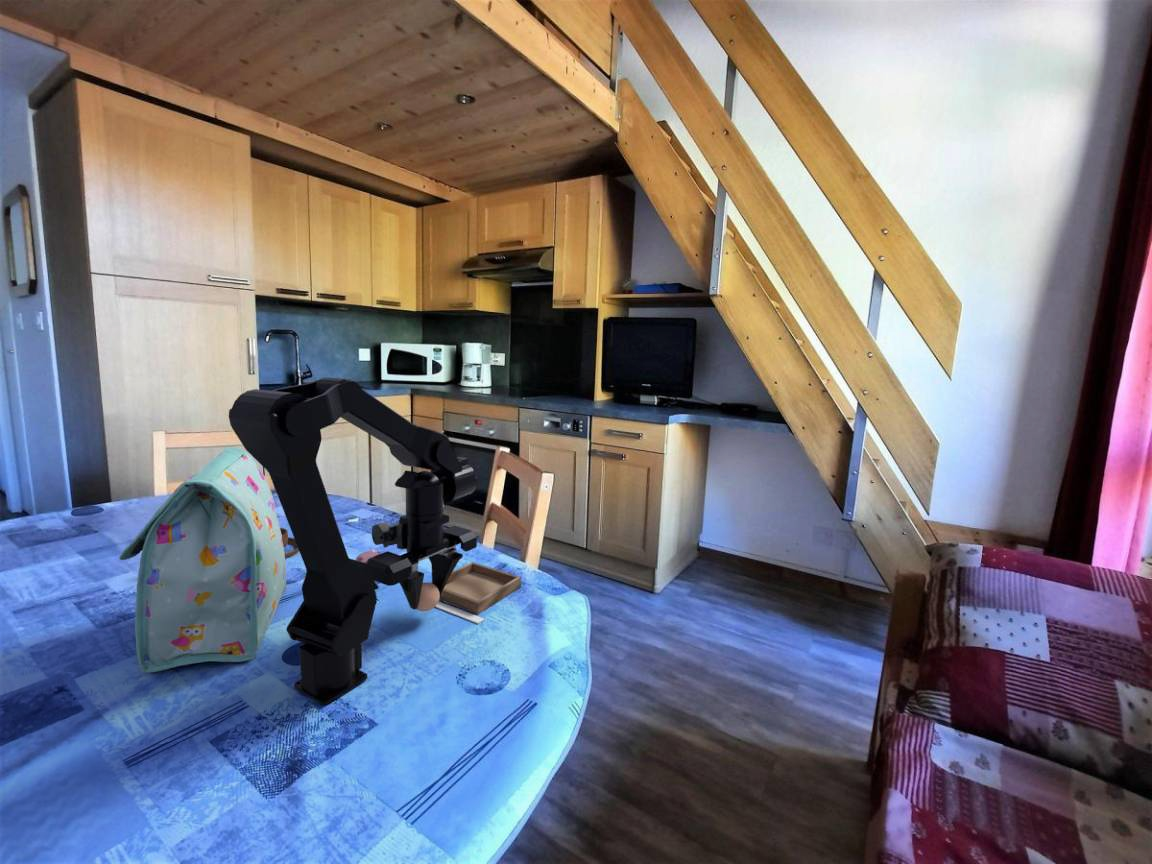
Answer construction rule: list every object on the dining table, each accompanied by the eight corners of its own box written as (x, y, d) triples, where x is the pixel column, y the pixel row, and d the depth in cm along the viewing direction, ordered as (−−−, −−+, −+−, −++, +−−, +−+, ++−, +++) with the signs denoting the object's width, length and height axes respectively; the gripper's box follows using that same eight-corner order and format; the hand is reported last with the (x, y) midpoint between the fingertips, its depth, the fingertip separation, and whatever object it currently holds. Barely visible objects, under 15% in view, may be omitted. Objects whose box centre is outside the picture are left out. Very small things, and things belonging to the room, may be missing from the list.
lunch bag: (186, 600, 85) (172, 444, 81) (296, 588, 91) (289, 441, 87) (121, 686, 64) (98, 479, 60) (270, 662, 70) (258, 473, 65)
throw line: (478, 624, 82) (478, 622, 82) (409, 596, 89) (409, 595, 89) (484, 619, 83) (484, 618, 83) (415, 593, 91) (415, 592, 91)
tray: (478, 614, 84) (478, 603, 84) (426, 594, 90) (426, 584, 90) (520, 587, 95) (521, 577, 94) (472, 571, 101) (472, 561, 100)
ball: (424, 619, 79) (424, 593, 78) (404, 611, 81) (404, 585, 81) (445, 607, 83) (445, 582, 82) (426, 600, 85) (425, 575, 84)
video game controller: (346, 602, 90) (361, 571, 88) (326, 588, 90) (340, 557, 89) (378, 578, 99) (392, 550, 98) (359, 566, 100) (373, 538, 98)
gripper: (432, 488, 91) (432, 570, 94) (338, 515, 75) (342, 612, 78) (479, 500, 86) (478, 585, 88) (389, 531, 70) (391, 634, 72)
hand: (425, 602), depth 82 cm, fingers closed on ball, 4 cm apart
